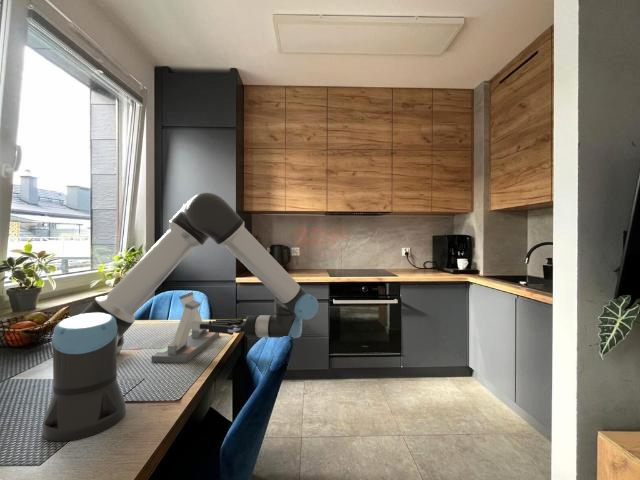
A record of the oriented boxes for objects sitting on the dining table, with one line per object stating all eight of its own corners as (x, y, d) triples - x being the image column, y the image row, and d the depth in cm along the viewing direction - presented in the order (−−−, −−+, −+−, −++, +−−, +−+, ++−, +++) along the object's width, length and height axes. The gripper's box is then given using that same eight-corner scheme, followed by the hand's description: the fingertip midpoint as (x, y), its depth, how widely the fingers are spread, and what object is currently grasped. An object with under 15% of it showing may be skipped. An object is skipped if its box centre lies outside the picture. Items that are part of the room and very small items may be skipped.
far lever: (206, 330, 134) (192, 291, 134) (200, 335, 128) (185, 294, 128) (200, 333, 134) (186, 294, 134) (193, 337, 128) (179, 296, 128)
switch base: (219, 335, 137) (219, 324, 137) (186, 362, 107) (186, 347, 107) (191, 335, 137) (191, 323, 137) (151, 362, 107) (151, 347, 107)
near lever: (184, 347, 116) (200, 302, 116) (176, 353, 110) (193, 306, 109) (177, 344, 116) (193, 300, 116) (168, 350, 110) (185, 303, 110)
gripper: (253, 343, 105) (183, 341, 106) (262, 331, 118) (200, 330, 119) (253, 320, 105) (183, 319, 106) (262, 311, 118) (200, 310, 119)
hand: (192, 325), depth 113 cm, fingers closed
